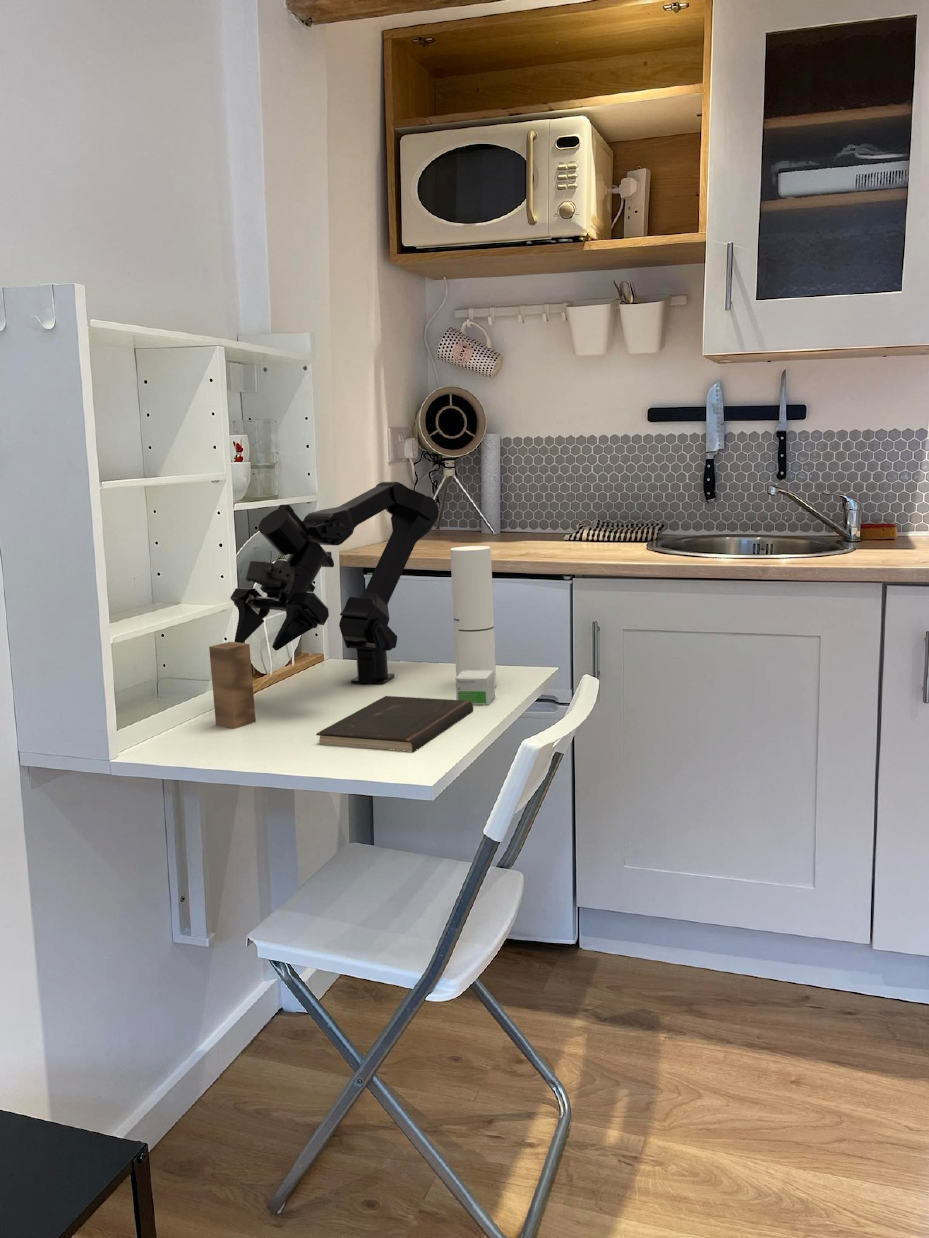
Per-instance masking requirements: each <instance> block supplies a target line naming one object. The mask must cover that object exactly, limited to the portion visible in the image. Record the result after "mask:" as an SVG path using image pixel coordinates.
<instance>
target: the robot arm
mask: <svg viewBox="0 0 929 1238" xmlns="http://www.w3.org/2000/svg"><path fill="white" fill-rule="evenodd" d="M383 511H385V512H386V513H388V514H389V515H391V517H390V522H391V528H392V529H391V530H392V531H391V535H390V536H389V538H388V541H387V543H386V545H385V548H384V549H383V552H382V554H381V555H380V557H379V560H378V562H377V564H376V566H375V568H374V570H373V572H372V575H371V576H370V579H369V581H368V584H367V585H366V588H365V590H364V592H362V594H361V595H359V596H349V598H348V599H347V601H346V604H345V606H344V608H343V609H342V611H341V612H340V614H339V616H340V620H339V623H338V627H339V630H340V633H341V636H342V639H343V641H344V645H345V647H346V649H355V655H356V669H357V676H356V677H354V678H352V679H351V680H350V683H351V684H381V685H382V684H385V683H387V682H388V681H389V680H391V679H392V678H394V677H395V676H396V674H395V673H391V672H390V673H389V671H388V670H389V669H388V653H387V651H388V652H389V651H391V650H393V649H396V648H397V644H398V643H397V642H398V635H397V634H396V633H395V632H394V631H393V630H392V629H391V628H390V627H389V622H390V613H389V608H388V607H389V602H390V601H391V598H392V595H393V594H394V591H395V589H396V587H397V586H398V585H397V584H398V583H399V580H400V577H401V576H402V574H403V572H404V569H405V568H406V565H407V563H408V561H409V559H410V556H411V554H412V552H413V550H414V548H415V545H416V544H417V542H418V541H420V540H421V539H422V538H423V537H425V536H426V535H427V534H429V533H430V531H431V530H432V528H433V526H434V525H435V524H436V522H437V521H438V517H439V512H440V511H439V507H438V504H437V502H436V501H435V499H434V498H433V497H432V496H429V495H425V494H424V493H421V492H419V491H417V490H414V489H411V488H409V487H407V486H406V485H405V484H403V483H400V482H399V481H381V482H379V483H377V484H376V485H375V486H374V487H373V488H370V489H368V490H367V491H365V492H364V493H361V494H359V495H358V496H355V497H354V498H352V499H350V500H349V501H346V502H345V503H343V504H341V505H339V506H337V507H331V508H324V509H320V510H315V511H312V512H310V513H308V514H306V515H305V517H304V519H303V520H302V519H300V517H299V516H298V515H297V514H296V512H295V510H294V509H293V508H292V506H291V505H290V504H279V506H278V508H277V509H274V510H273V511H271V512H269V513H268V514H267V515H266V516H265V517H262V519H261V520H260V522H259V525H258V532H259V533H260V534H261V535H262V536H263V537H264V539H266V541H267V542H268V543H269V544H270V545H271V546H272V547H273V548H274V549H275V550H276V552H277V553H278V554H280V555H283V556H287V555H289V556H288V557H287V559H286V560H283V559H277V560H275V561H274V562H267V561H255V560H251V561H249V565H248V568H247V572H246V575H245V580H246V581H248V582H254V583H256V584H258V585H260V588H259V590H261V591H262V592H263V593H265V594H266V596H262V594H261V593H260V592H259V591H258V590H257V589H256V588H254V587H253V588H251V587H237V588H235V589H234V590H233V593H231V595H230V600H231V601H232V602H233V605H234V606H235V607H236V608H237V610H238V621H237V625H236V631H235V636H234V641H233V642H238V643H244V642H245V641H247V640H248V638H250V636H251V635H252V634H254V632H255V631H256V630H258V628H260V626H261V625H262V624H264V622H265V620H264V618H266V617H267V616H268V614H270V613H269V612H270V611H271V610H273V611H281V612H285V619H284V620H283V623H282V625H281V626H280V629H279V630H278V632H277V634H276V636H275V639H274V641H273V644H272V649H273V650H274V651H279V650H280V649H282V648H283V647H285V646H287V645H288V644H290V643H291V642H292V641H294V640H296V639H297V638H299V637H301V636H302V635H303V634H306V633H307V632H309V631H310V630H312V629H316V628H318V626H324V625H325V623H326V622H327V621H328V618H329V616H330V615H329V614H330V613H329V608H328V607H327V605H325V603H324V602H323V601H322V600H321V599H320V598H319V597H318V596H317V594H316V593H314V591H315V589H316V586H315V585H314V584H313V582H314V580H315V579H316V577H317V575H318V573H319V572H320V570H321V569H322V568H333V567H335V563H334V562H335V561H334V559H333V556H332V552H331V551H327V550H325V549H324V548H323V546H341V545H342V544H343V543H344V542H345V541H346V540H348V539H349V538H350V537H351V536H352V535H353V534H354V531H355V528H357V526H359V525H360V524H362V523H364V522H366V521H367V520H369V519H372V518H373V517H375V516H377V515H378V514H380V513H382V512H383Z"/></svg>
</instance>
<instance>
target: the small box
mask: <svg viewBox="0 0 929 1238" xmlns="http://www.w3.org/2000/svg"><path fill="white" fill-rule="evenodd" d="M495 688H496V687H495V685H494V671H492V670H463V671H462V672H461V673H460V674H459V675H458V676H457V677H455V695H456V699H455V700H465V701H470V702H472V704H473V706H475V705H477V706H489V705H490V704H491V703H492V701H493V700H494V699H495V697H496V691H495V690H496V689H495Z"/></svg>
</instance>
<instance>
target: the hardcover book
mask: <svg viewBox="0 0 929 1238" xmlns="http://www.w3.org/2000/svg"><path fill="white" fill-rule="evenodd" d="M472 712H474V705H473V704H472V702H470V701H465V700H456V699H446V698H445V699H444V698H430V697H429V698H428V697H427V698H426V697H413V696H412V697H410V696H392V695H384V696H383V697H381V698H379V699H377V700H376V701H374V702H371V703H370V704H368V705H367V706H365V707H362V708H361V709H359V710H357V711H355V712H354V713H351V714H349V715H348V716H346V717H344V718H342V719H340V720H339V721H337V722H334V723H333V724H331V725H329V726H327V727H326V728H323V729H322V730H320V731H319V732H316V734H315V736H319V739H318V741H319V745H327V746H335V747H336V746H337V747H348V746H349V748H362V749H373V750H384V749H392V750H391V751H396V750H405V751H404V752H408V751H412V752H411V753H415V752H416V751H417V750H416V749H418V750H419V749H420V748H422V747H423V746H425V745H426V744H428V743H429V742H430V741H432V740H434V739H435V738H437V737H438V736H439V735H441V734H442V733H444V732H445V731H446V730H448V729H450V728H451V727H453V726H454V725H455V724H457V723H458V722H459V721H461V720H462V719H464V718H465V717H467V716H468V715H470V714H471V713H472ZM421 746H422V747H421ZM393 749H394V750H393ZM415 750H416V751H415ZM414 751H415V752H414Z"/></svg>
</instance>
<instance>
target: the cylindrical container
mask: <svg viewBox="0 0 929 1238" xmlns="http://www.w3.org/2000/svg"><path fill="white" fill-rule="evenodd" d="M491 548H492V547H491V546H488V545H470V546H469V545H468V546H467V545H466V546H456V547H451V548H450V550H449V551H450V571H451V591H452V592H451V593H452V616H453V634H454V635H453V637H454V652H455V653H454V655H455V657H454V658H455V676H456V677H457V676H458V675H459V674H460V673H461V672H462V671H463V670H492V671H494V685H495V686H496V687H497V673H496V672H497V671H496V649H495V647H496V646H495V645H496V644H495V641H496V640H495V627H494V626H495V621H494V620H495V619H494V597H493V595H494V593H493V572H492V571H493V570H492V569H493V568H492V567H493V566H492V549H491ZM456 677H455V678H456Z"/></svg>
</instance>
